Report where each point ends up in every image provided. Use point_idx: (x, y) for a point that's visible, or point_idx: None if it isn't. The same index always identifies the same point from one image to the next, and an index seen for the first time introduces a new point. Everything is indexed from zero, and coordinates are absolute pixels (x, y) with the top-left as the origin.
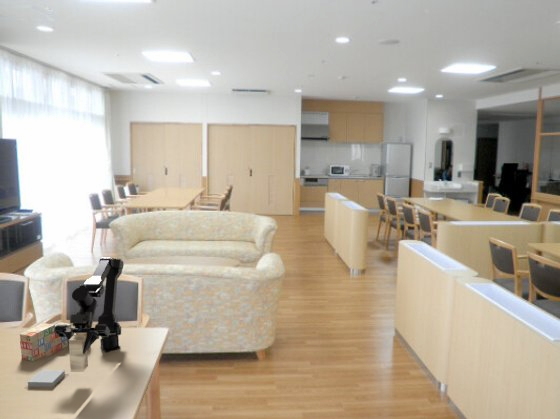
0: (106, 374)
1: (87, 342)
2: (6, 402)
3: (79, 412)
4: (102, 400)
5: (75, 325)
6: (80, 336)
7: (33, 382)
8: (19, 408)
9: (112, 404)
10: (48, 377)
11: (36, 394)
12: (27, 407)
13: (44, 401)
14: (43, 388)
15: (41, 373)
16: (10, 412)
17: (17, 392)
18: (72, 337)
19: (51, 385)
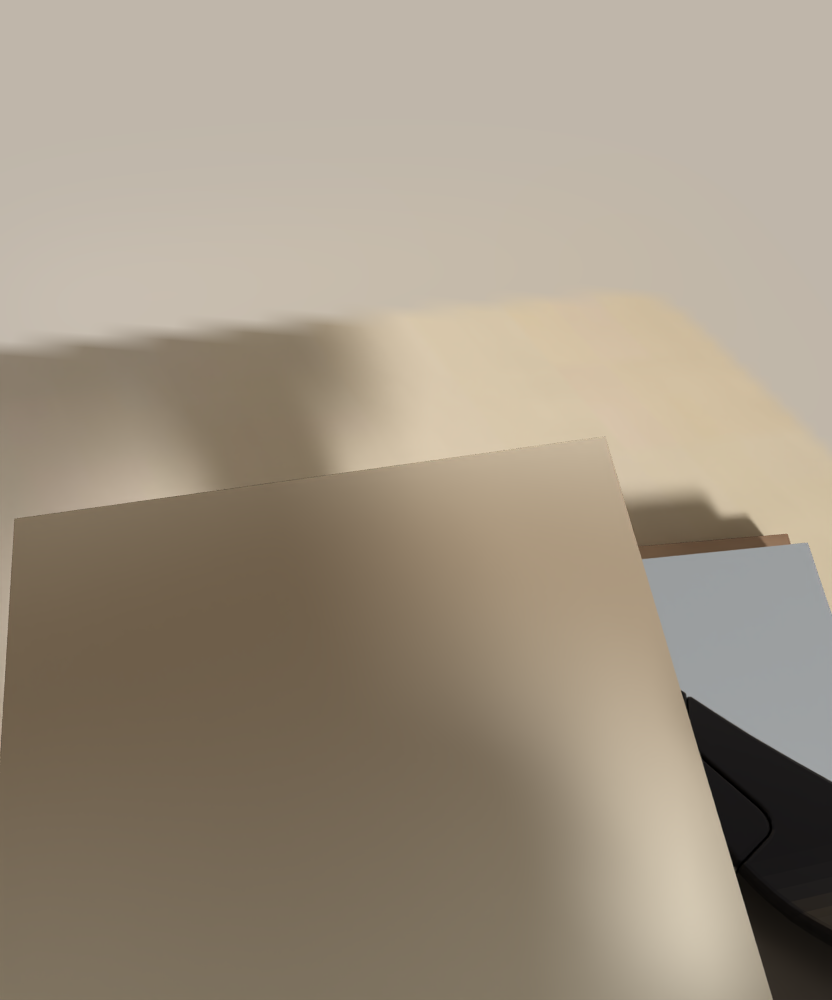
0: None
1: None
2: (761, 399)
3: (216, 349)
4: (112, 499)
5: None
6: (266, 994)
7: (757, 549)
8: (625, 349)
9: (16, 458)
10: (697, 647)
11: (650, 514)
12: (585, 364)
13: (527, 438)
14: (639, 549)
15: (823, 713)
16: (643, 308)
17: (804, 521)
18: (637, 752)
19: None
